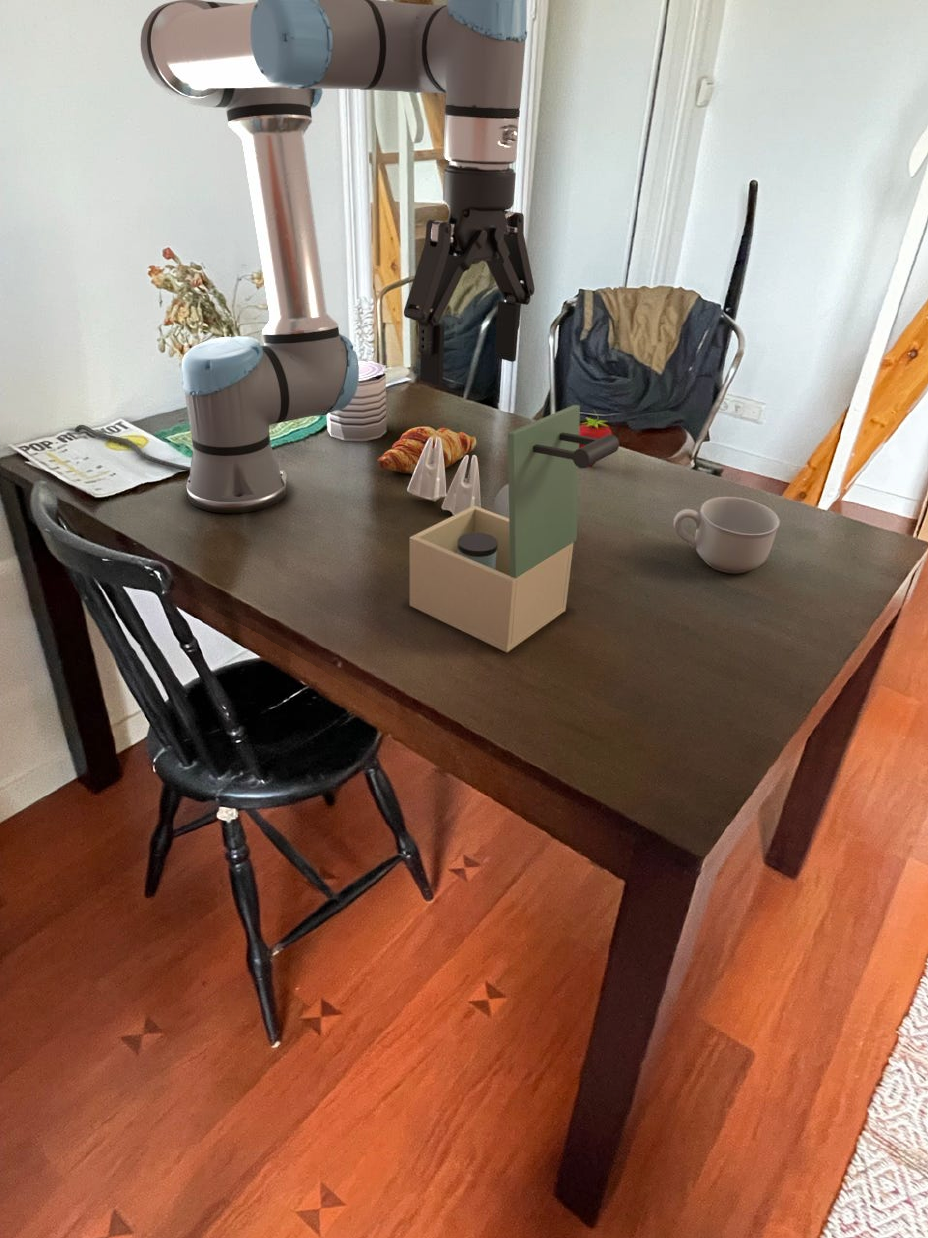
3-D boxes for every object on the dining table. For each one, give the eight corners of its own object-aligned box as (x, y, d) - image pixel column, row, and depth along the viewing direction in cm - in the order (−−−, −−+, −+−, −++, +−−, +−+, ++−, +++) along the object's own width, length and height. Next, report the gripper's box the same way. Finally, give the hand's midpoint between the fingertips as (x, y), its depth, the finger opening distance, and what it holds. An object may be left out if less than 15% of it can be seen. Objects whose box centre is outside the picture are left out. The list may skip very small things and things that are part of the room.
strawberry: (562, 465, 147) (568, 410, 142) (591, 456, 151) (598, 402, 146) (586, 476, 143) (593, 420, 138) (615, 466, 147) (623, 412, 142)
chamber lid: (507, 432, 84) (571, 444, 80) (574, 404, 93) (636, 413, 88) (509, 576, 92) (568, 595, 88) (571, 538, 101) (628, 553, 96)
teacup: (768, 553, 121) (781, 503, 117) (765, 588, 113) (779, 536, 108) (672, 536, 125) (682, 487, 121) (662, 569, 116) (672, 517, 112)
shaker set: (405, 501, 132) (405, 435, 126) (421, 492, 135) (421, 427, 129) (468, 521, 127) (471, 453, 121) (482, 512, 130) (486, 445, 124)
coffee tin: (448, 600, 106) (450, 545, 101) (466, 583, 109) (468, 529, 105) (484, 610, 104) (487, 554, 99) (500, 592, 108) (504, 538, 103)
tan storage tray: (409, 605, 106) (409, 537, 100) (471, 570, 114) (474, 505, 109) (506, 652, 98) (512, 581, 92) (565, 610, 106) (573, 542, 101)
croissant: (463, 462, 155) (451, 420, 154) (497, 453, 147) (485, 408, 146) (371, 488, 143) (358, 442, 141) (403, 479, 135) (389, 430, 133)
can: (384, 442, 153) (383, 378, 147) (323, 440, 153) (319, 376, 146) (388, 421, 163) (387, 360, 156) (330, 419, 162) (327, 358, 156)
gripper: (426, 174, 75) (422, 402, 87) (576, 163, 92) (556, 356, 103) (367, 165, 79) (371, 385, 91) (522, 157, 95) (508, 343, 107)
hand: (469, 370), depth 97 cm, fingers open, 13 cm apart
